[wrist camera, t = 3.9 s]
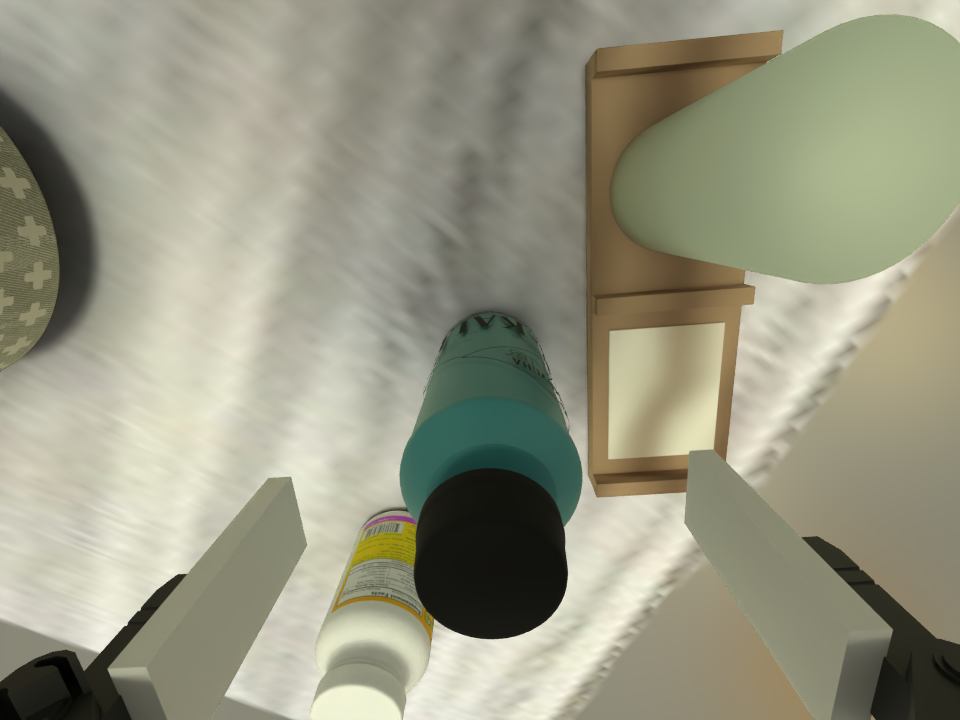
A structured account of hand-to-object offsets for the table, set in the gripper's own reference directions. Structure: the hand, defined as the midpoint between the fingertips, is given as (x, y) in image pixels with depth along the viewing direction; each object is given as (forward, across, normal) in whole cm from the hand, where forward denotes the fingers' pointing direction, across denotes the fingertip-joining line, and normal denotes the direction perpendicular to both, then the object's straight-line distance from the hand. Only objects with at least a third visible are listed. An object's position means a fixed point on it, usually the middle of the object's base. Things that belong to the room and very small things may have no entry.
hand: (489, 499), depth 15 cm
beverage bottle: (+16, 0, 0) cm, 16 cm away
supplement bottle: (+16, -8, -14) cm, 23 cm away
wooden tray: (+16, +11, +4) cm, 20 cm away
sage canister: (+14, +11, +10) cm, 21 cm away
